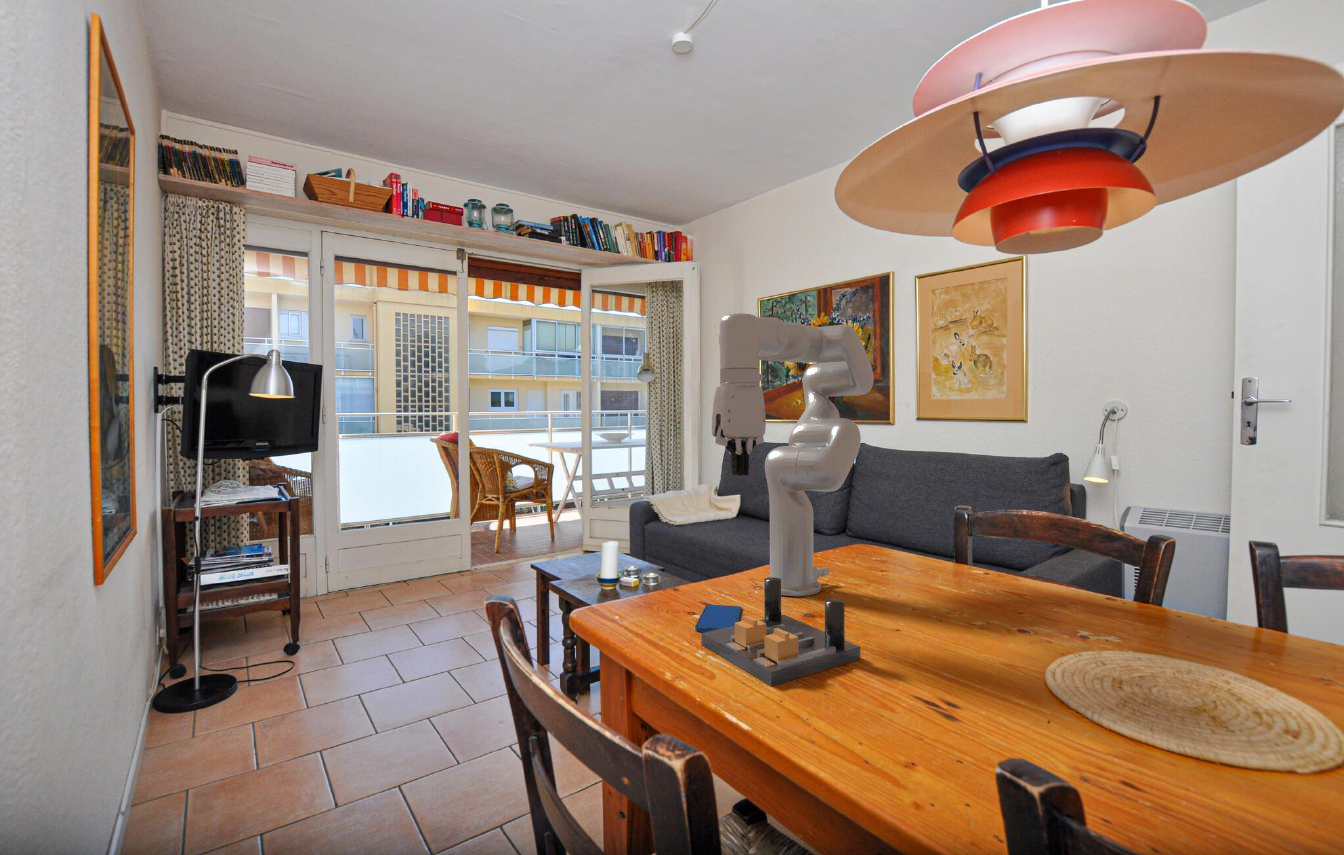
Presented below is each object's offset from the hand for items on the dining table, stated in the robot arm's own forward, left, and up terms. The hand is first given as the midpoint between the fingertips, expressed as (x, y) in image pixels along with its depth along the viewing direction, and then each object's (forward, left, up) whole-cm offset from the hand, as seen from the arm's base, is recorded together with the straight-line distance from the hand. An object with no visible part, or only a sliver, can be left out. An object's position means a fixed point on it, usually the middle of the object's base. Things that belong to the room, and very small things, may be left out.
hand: (740, 474), depth 115 cm
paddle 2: (+11, +24, -25) cm, 36 cm away
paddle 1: (+11, +17, -25) cm, 32 cm away
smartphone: (+5, 0, -28) cm, 28 cm away
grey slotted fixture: (+6, +18, -27) cm, 33 cm away
